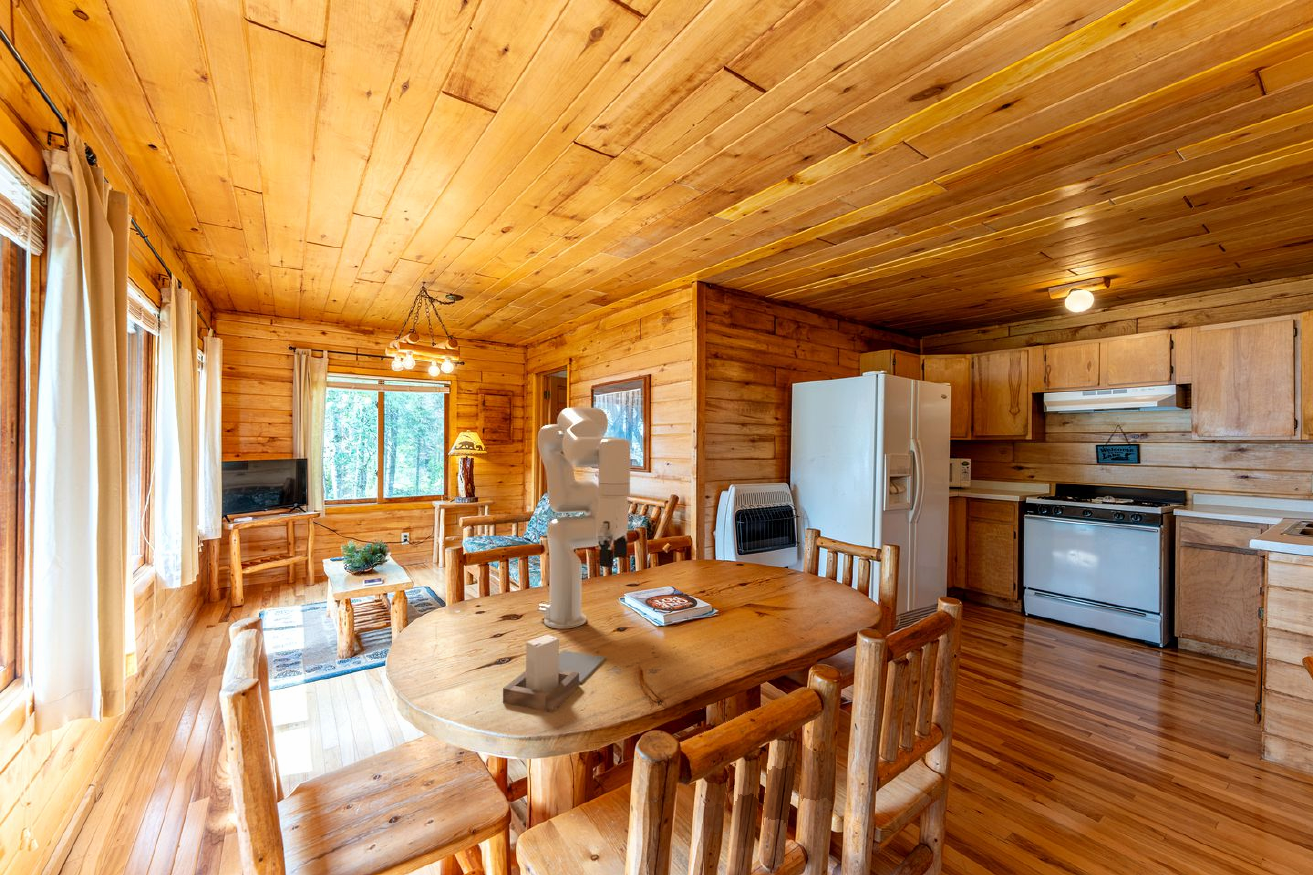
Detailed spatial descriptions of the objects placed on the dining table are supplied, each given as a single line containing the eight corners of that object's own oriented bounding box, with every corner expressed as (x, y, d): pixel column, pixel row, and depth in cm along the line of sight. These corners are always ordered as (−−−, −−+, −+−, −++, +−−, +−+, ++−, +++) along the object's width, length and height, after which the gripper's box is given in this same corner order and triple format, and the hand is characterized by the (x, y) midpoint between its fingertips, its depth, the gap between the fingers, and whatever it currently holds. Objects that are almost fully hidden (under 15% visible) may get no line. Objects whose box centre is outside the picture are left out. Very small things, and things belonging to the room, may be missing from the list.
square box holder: (502, 702, 116) (503, 688, 115) (532, 677, 127) (532, 664, 127) (552, 712, 112) (553, 697, 112) (579, 685, 123) (579, 672, 123)
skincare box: (546, 685, 123) (547, 632, 123) (559, 692, 120) (560, 638, 120) (524, 695, 118) (524, 640, 118) (537, 702, 116) (537, 646, 115)
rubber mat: (535, 675, 128) (535, 673, 128) (563, 652, 141) (563, 650, 141) (580, 683, 124) (580, 681, 124) (605, 659, 137) (605, 656, 137)
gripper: (612, 486, 138) (611, 552, 139) (585, 493, 122) (584, 569, 122) (640, 487, 136) (639, 554, 137) (616, 495, 120) (615, 572, 120)
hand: (613, 561), depth 129 cm, fingers open, 9 cm apart
